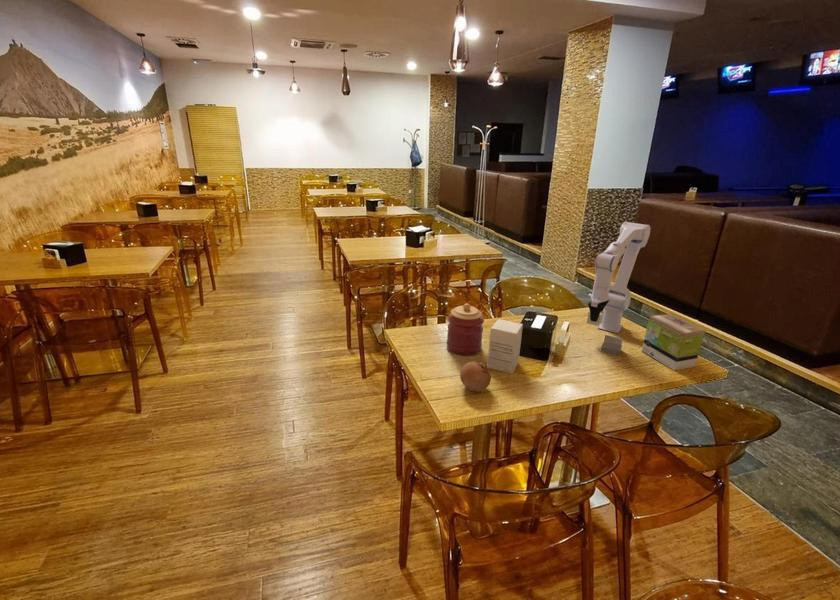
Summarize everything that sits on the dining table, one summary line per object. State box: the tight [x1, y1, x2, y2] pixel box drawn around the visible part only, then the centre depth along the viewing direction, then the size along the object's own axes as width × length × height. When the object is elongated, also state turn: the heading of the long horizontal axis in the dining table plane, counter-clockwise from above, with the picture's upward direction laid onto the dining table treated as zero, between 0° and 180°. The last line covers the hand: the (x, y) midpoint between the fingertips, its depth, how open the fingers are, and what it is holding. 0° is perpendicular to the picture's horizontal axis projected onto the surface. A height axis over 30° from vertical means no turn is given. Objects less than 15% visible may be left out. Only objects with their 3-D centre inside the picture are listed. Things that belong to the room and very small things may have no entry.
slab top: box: [602, 334, 623, 352], centre depth 157 cm, size 6×6×2 cm
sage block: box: [586, 310, 604, 327], centre depth 162 cm, size 4×4×4 cm
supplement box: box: [486, 318, 524, 374], centre depth 143 cm, size 9×9×15 cm
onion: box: [459, 360, 492, 394], centre depth 130 cm, size 10×9×10 cm
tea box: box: [641, 313, 706, 371], centre depth 150 cm, size 15×10×15 cm, turn 18°
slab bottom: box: [600, 344, 623, 357], centre depth 158 cm, size 6×6×2 cm
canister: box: [446, 303, 485, 356], centre depth 154 cm, size 13×13×18 cm
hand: (595, 319), depth 162 cm, fingers closed on sage block, 4 cm apart
